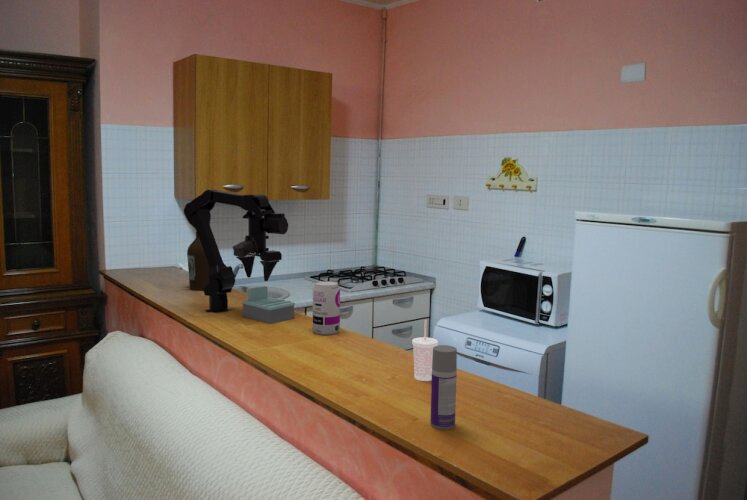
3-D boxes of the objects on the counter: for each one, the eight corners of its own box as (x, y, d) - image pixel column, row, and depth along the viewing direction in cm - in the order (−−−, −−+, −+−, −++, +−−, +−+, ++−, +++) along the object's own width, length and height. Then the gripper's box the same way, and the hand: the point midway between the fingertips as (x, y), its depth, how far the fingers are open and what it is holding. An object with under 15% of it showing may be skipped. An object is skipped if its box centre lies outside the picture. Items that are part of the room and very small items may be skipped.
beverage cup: (406, 378, 136) (407, 320, 134) (419, 371, 141) (420, 315, 139) (429, 384, 132) (430, 324, 131) (441, 376, 137) (443, 319, 136)
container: (428, 419, 113) (430, 345, 111) (452, 419, 113) (454, 344, 111) (432, 430, 108) (434, 352, 106) (457, 429, 109) (459, 352, 107)
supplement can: (341, 328, 180) (341, 281, 178) (337, 335, 172) (337, 286, 170) (315, 327, 181) (315, 280, 179) (310, 334, 172) (310, 285, 171)
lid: (242, 305, 191) (241, 289, 190) (266, 300, 199) (266, 284, 198) (270, 312, 182) (269, 295, 181) (295, 307, 190) (294, 290, 189)
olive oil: (209, 285, 248) (208, 227, 245) (218, 289, 240) (217, 229, 236) (184, 287, 242) (182, 228, 239) (193, 292, 233) (191, 230, 230)
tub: (243, 318, 192) (242, 303, 191) (267, 313, 199) (266, 298, 198) (270, 325, 183) (270, 310, 182) (294, 320, 190) (294, 305, 189)
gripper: (219, 231, 191) (220, 278, 193) (255, 236, 178) (255, 286, 180) (247, 229, 199) (247, 274, 201) (282, 234, 187) (282, 281, 189)
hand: (257, 279), depth 193 cm, fingers open, 9 cm apart
